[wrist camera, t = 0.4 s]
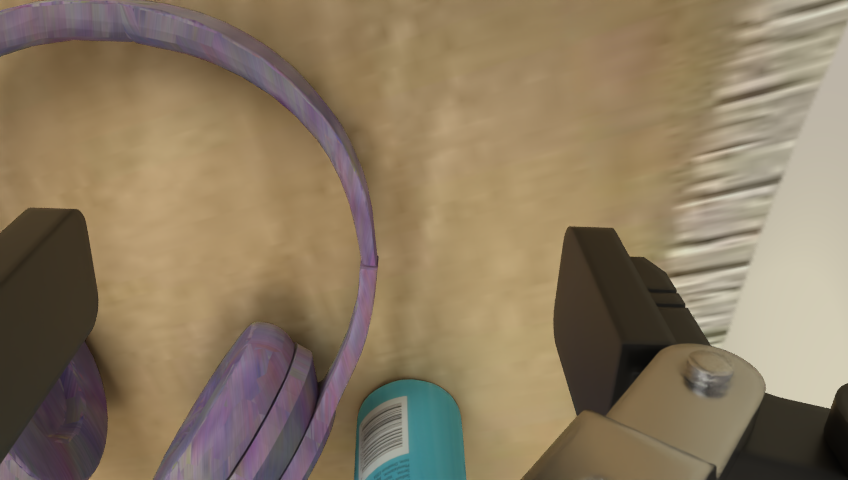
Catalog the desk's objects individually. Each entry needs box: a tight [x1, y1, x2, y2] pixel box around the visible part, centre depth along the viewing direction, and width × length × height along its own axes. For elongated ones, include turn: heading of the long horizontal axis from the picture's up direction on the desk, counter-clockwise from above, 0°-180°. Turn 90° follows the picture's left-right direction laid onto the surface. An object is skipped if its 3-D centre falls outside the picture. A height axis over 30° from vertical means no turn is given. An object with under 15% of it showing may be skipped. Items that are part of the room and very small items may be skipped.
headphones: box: [0, 0, 378, 480], centre depth 29 cm, size 18×8×20 cm
